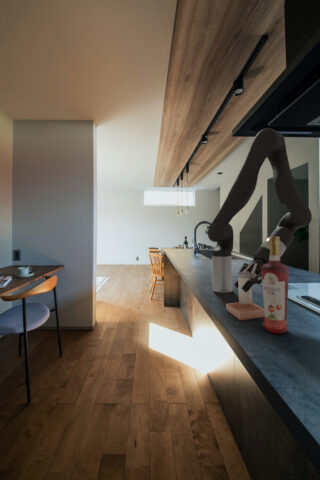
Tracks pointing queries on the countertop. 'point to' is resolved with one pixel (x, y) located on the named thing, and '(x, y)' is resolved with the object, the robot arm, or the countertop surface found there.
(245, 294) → the battery cell
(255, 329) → the countertop surface
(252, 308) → the dish
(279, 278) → the liquor
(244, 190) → the robot arm
